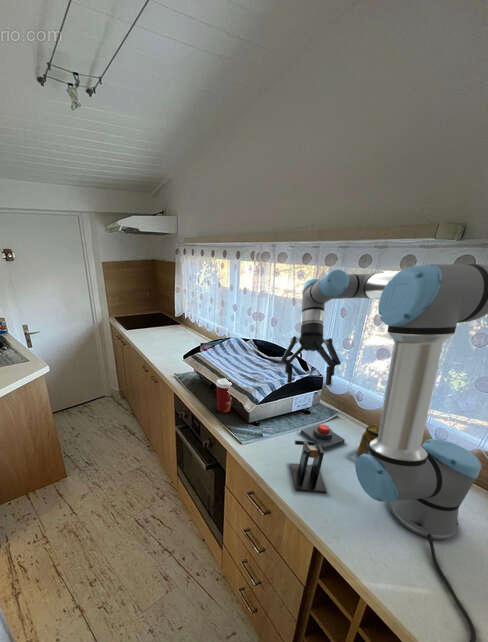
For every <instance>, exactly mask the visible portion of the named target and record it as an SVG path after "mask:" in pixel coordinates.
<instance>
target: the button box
mask: <svg viewBox="0 0 488 642" xmlns="http://www.w3.org/2000/svg"><path fill="white" fill-rule="evenodd" d="M321 424H322V423H318V424H314V425H311V426H309V427H305V428H302V429H301V430H300V435H302V436H304V438H306V439H308V441H314V445H316V446H317V444H321V447H322V449H323V451H326V450H330V449H331V448H334V447H337V446H340V445H343V444H345V442H346V439H345V438H343V437H341V436H340V435H338V434H337V433H335V432H334V431H333V429H331V428H330V427H329V432H328V434H323V433H320V432H318V429H319V425H321Z"/></svg>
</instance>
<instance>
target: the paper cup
mask: <svg viewBox="0 0 488 642" xmlns="http://www.w3.org/2000/svg"><path fill="white" fill-rule="evenodd" d="M227 379H228V378H227ZM227 379H226V377H221V378H218V379H217V381H216V382H215V386H216V407H217V411H218V412H220V413H225V414H226V413H228V412H230V410H231V404H232V397H233V396H232V397H231V396H230V394H229V393H228V392H227V391H228V389H229V388H230V386H231V385H232V383H231V382H229V381H228V380H227Z"/></svg>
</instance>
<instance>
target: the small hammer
mask: <svg viewBox="0 0 488 642" xmlns="http://www.w3.org/2000/svg"><path fill="white" fill-rule="evenodd" d="M304 443H307V445H308V448H309V451H310V454H309V459H310V458H312V459H314V458H317V456H318V450H317V449H316V447H314V446H315V443H314V441H310V440H296V439H295V440H294V445H296V446H303V444H304Z"/></svg>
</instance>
